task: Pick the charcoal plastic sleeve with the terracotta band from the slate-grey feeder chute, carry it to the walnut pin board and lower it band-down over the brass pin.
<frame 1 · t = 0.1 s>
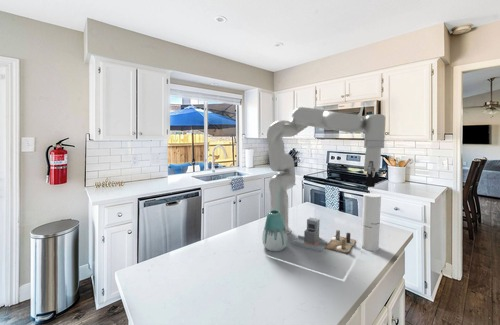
hand: (372, 184, 105), 31 cm above the worktop, fingers open, 9 cm apart
vase: (274, 248, 114), on the worktop
pin board: (340, 245, 116), on the worktop
cylindrical container: (369, 247, 114), on the worktop
feeder hopper: (312, 238, 125), on the worktop
sleeve: (311, 244, 116), point 1 cm above the worktop, touching feeder chute
feeder chute: (309, 245, 117), on the worktop
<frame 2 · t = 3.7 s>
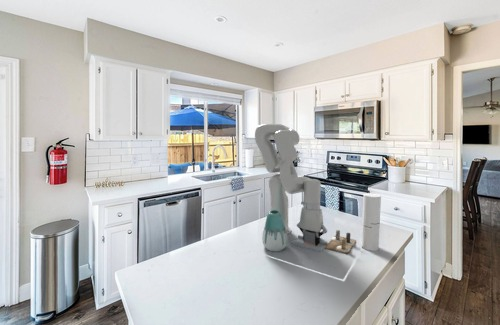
hand: (311, 242, 116), 2 cm above the worktop, fingers closed on sleeve, 5 cm apart
sleeve: (311, 244, 116), point 1 cm above the worktop, touching feeder chute, gripper
everything else where it was.
when the fingers open (3 cm above the worktop, at t = 8.3 s): sleeve drops 1 cm, resting on pin board.
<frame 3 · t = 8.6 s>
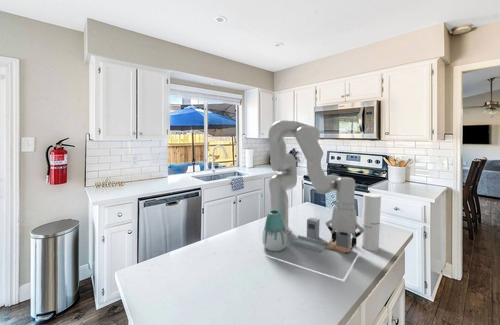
hand: (343, 243, 110), 4 cm above the worktop, fingers open, 7 cm apart
sleeve: (343, 248, 111), point 1 cm above the worktop, touching pin board
everything else where it was.
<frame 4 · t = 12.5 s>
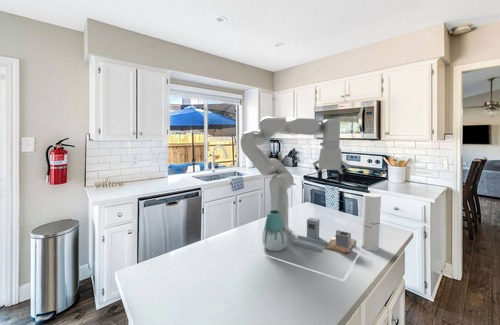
hand: (330, 180, 118), 30 cm above the worktop, fingers open, 9 cm apart
nothing on the worktop moved.
at the end: sleeve 0.1 cm from the target spot, point 1.3 cm above the worktop; sleeve tilted 0°; the gripper is holding nothing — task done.
